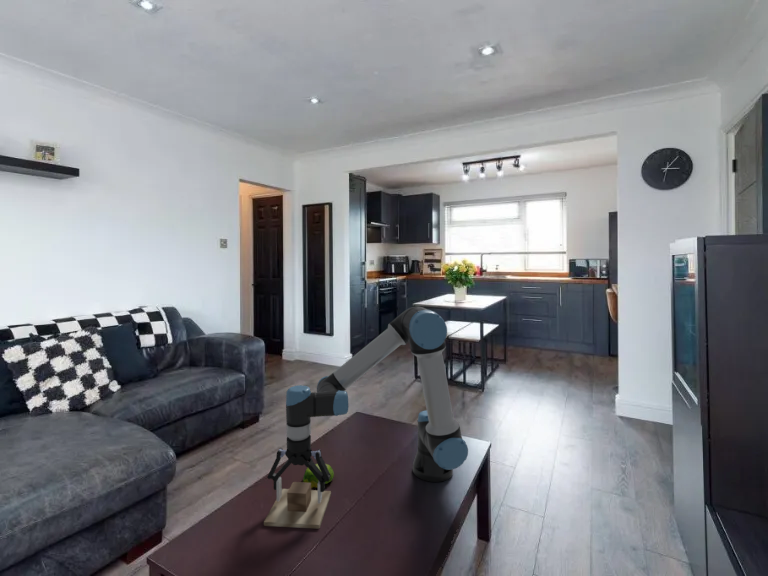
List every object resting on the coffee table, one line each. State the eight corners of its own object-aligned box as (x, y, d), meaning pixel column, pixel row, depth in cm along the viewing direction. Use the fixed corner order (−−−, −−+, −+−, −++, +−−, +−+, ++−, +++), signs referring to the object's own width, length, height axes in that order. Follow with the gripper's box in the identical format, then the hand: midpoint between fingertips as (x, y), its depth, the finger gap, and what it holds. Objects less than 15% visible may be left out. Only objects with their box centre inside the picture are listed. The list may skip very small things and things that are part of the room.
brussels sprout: (328, 490, 136) (328, 477, 135) (298, 487, 138) (298, 473, 137) (337, 473, 147) (337, 460, 147) (310, 470, 149) (310, 457, 149)
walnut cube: (311, 500, 128) (311, 482, 127) (306, 512, 122) (305, 493, 122) (293, 499, 128) (293, 481, 128) (287, 511, 122) (287, 492, 122)
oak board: (331, 494, 133) (331, 491, 133) (319, 528, 116) (319, 524, 116) (282, 492, 134) (282, 488, 134) (263, 525, 117) (263, 521, 117)
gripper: (339, 431, 126) (339, 494, 128) (265, 429, 128) (266, 491, 130) (334, 442, 119) (335, 509, 120) (256, 439, 121) (257, 505, 122)
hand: (299, 499), depth 125 cm, fingers open, 13 cm apart
